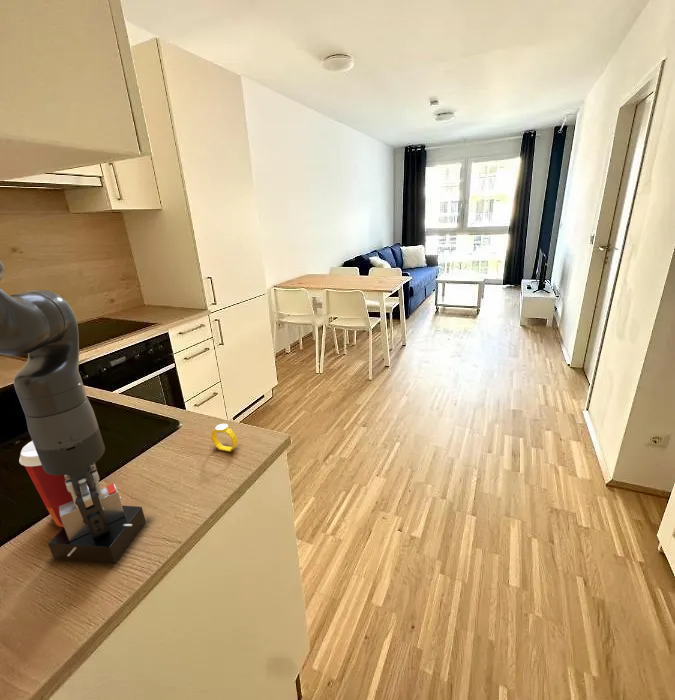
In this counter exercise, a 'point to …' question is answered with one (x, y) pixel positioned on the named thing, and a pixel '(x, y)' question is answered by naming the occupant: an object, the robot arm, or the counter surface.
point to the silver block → (74, 518)
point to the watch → (225, 428)
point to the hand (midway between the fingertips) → (98, 524)
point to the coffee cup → (46, 483)
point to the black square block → (100, 540)
